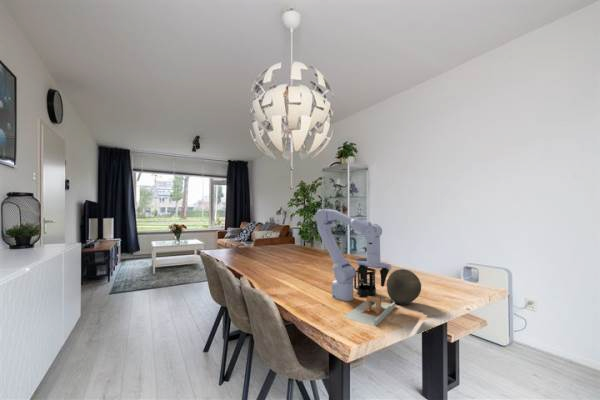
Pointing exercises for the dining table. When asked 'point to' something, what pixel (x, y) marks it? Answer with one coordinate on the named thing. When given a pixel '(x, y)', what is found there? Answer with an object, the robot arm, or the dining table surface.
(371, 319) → the grey base plate
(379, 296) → the hook arm
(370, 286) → the french press
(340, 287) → the robot arm
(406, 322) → the dining table surface
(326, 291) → the dining table surface
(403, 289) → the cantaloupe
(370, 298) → the peach u-shaped bracket
